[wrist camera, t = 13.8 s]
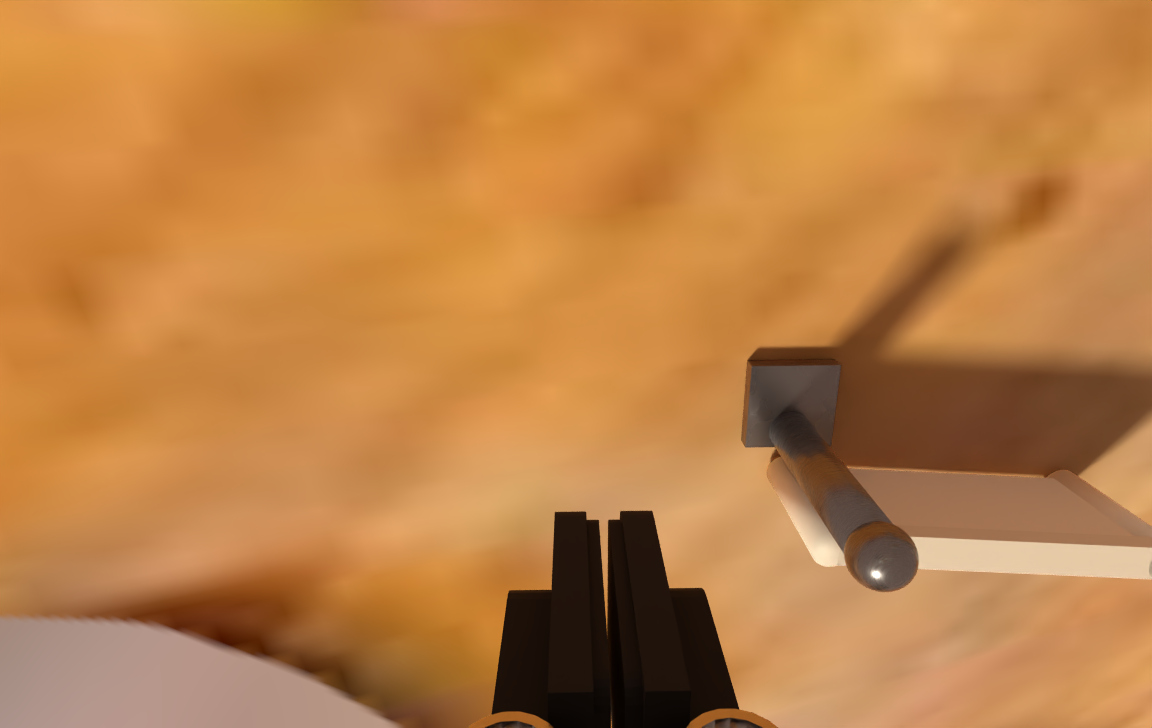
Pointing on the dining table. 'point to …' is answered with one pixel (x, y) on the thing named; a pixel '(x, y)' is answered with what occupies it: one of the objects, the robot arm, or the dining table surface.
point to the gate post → (824, 465)
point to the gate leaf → (989, 522)
